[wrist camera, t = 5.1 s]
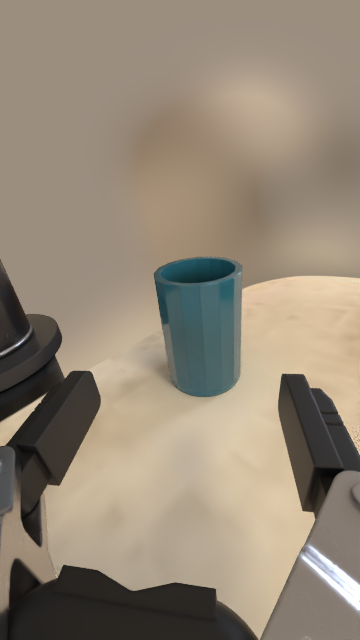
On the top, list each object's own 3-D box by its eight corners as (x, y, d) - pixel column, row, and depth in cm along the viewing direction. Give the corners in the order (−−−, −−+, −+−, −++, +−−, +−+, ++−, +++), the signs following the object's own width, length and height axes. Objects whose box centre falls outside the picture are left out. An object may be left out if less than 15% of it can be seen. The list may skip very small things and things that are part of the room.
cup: (156, 380, 23) (135, 278, 19) (194, 343, 28) (185, 254, 23) (219, 408, 20) (215, 291, 15) (251, 361, 24) (255, 260, 19)
